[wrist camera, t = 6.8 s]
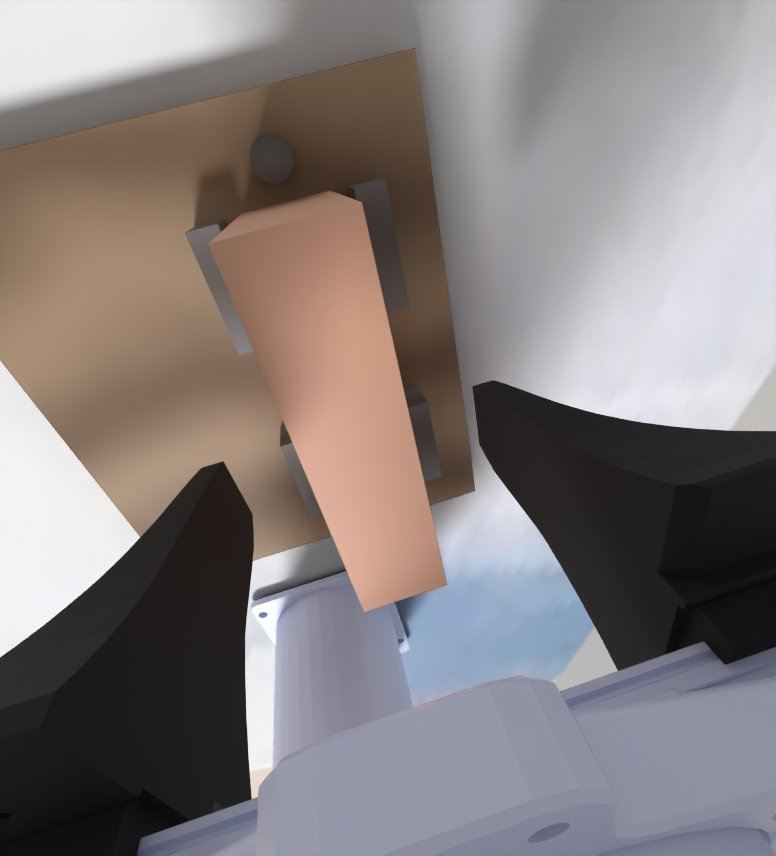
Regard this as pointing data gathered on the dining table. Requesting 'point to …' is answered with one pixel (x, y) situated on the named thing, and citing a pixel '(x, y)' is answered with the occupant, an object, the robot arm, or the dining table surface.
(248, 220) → the door panel
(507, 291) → the dining table surface
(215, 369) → the cabinet side board
